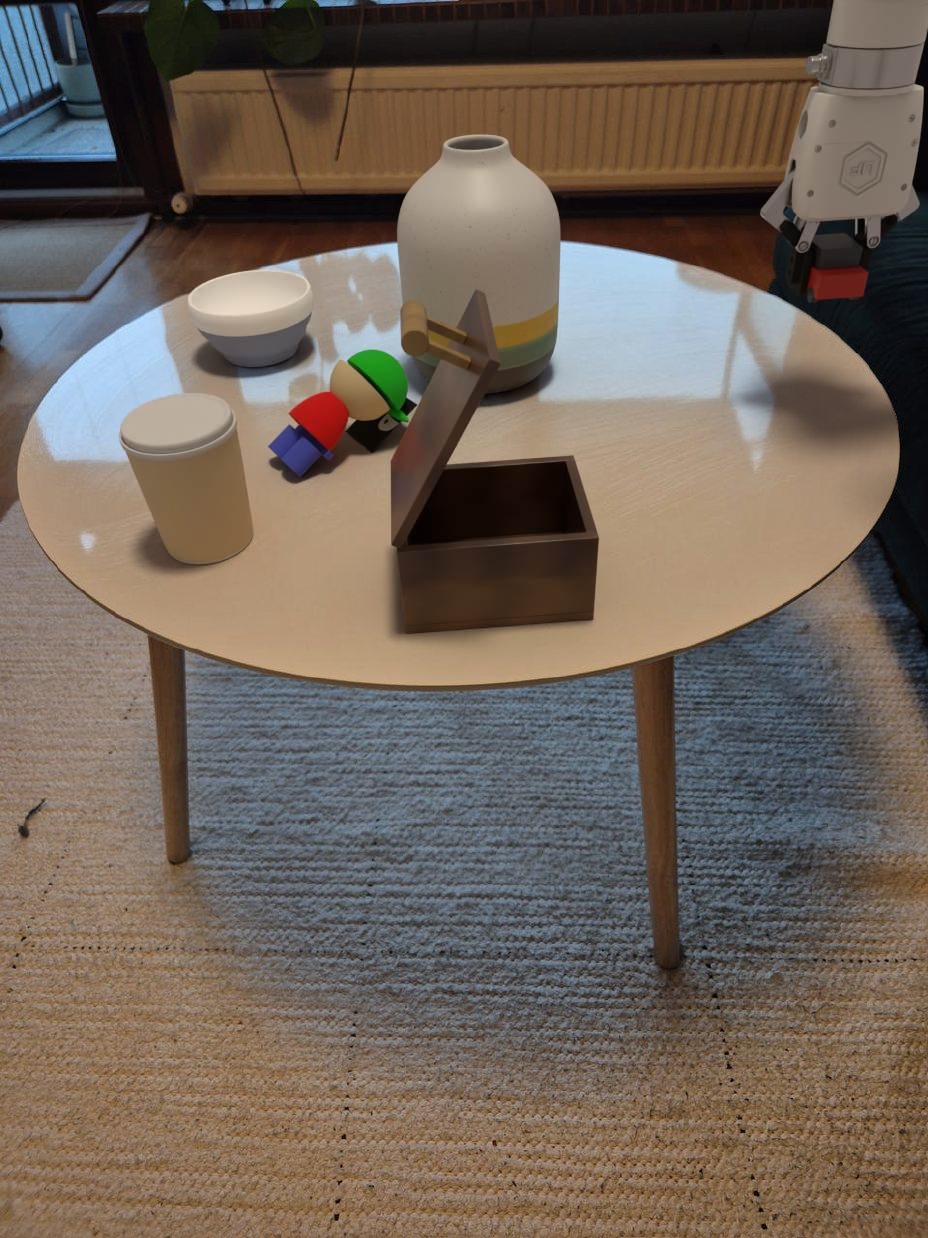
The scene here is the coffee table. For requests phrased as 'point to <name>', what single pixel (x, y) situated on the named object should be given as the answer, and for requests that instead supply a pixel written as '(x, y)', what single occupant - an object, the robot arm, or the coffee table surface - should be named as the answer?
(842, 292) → the car
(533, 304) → the vase
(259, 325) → the bowl
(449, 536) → the chest
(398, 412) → the toy
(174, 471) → the coffee cup
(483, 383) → the lid
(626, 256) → the coffee table surface
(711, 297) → the coffee table surface
